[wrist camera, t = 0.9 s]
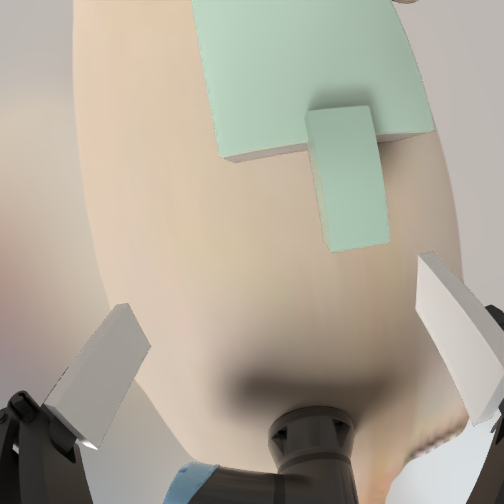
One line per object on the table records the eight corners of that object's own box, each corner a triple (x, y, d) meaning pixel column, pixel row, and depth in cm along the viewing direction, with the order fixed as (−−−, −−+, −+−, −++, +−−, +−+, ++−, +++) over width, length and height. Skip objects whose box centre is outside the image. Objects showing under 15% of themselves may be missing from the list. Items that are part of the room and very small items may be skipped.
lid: (433, 220, 25) (460, 229, 20) (243, 252, 28) (236, 268, 23) (374, -7, 19) (387, -31, 14) (196, 9, 21) (183, -16, 16)
